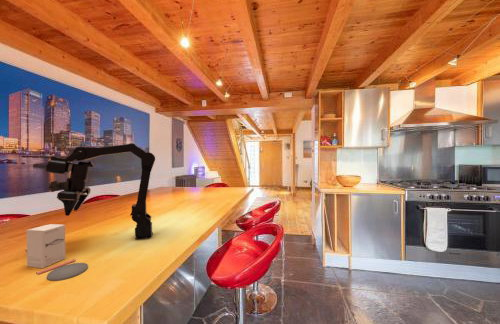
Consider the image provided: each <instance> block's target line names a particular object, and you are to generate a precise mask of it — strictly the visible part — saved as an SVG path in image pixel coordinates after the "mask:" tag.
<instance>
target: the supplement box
mask: <svg viewBox="0 0 500 324" xmlns="http://www.w3.org/2000/svg"><path fill="white" fill-rule="evenodd" d="M26 250H27V252H26V267H29V268H38V269H45V268H47V267H48V266H51V265H53V264H56V263H57V262H60V261H62V260H65V259H66V225H65V224H58V223H57V224H56V223H53V224H52V223H49V224H46V225H41V226H37V227H32V228H29V229H26Z"/></svg>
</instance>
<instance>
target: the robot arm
mask: <svg viewBox="0 0 500 324" xmlns="http://www.w3.org/2000/svg"><path fill="white" fill-rule="evenodd" d="M124 153H132V154H134V155H135V156H136V157H138V158H140V159H141V162H140V165H141V175H140V182H139V188H138V194H137V200H136V202H135V203H132V205H131V212H130V215H129V216H131V219H132V222H134V223H136V225H135V226H136V227H134V237H135V238H134V239H135V240H144V239H151V238H152V236H153V234H154V232H153V221H152V216H151V215H150V214H149V213H148V212H147V196H148V191H149V183H150V179H151V173H152V170H153V167H154V165H155V163H156V156H155V154H153V153H152V152H146V151H145V150H144V149H142V148H140V147H138V145H136V144H135V143H132V142H130V143H125V144H117V145H108V146H106V145H105V146H100V147H98V146H76V147H75V148H74V149H73V151H72V153H71V154H69V155H68V156H67V157H66V158H63V157H59V156H51V157H50V159H49V161H48V162H47V164H46V165H45V171H46V173H48V174H56V175H67V174H68V173H69V174H70V175H69V177H67V178H66V181H58V180H55V181H54V180H53V181H50V183H49V184H48V187H47V188H48V189H50V191H51V193H53V192H57V191H59V192H58V193H57V195H56V199H57V200H58V201H60V202H61V203H63V207H64V215H65V216H66V217H67V216H68V217H69V216H70V214H71V213H72V212H73V211H75V212H77V211H79V209H80V207H82V204H83V203H84V202H85V201H86V199H87V198H88V197H89V195H90V194H91V192H92V190H91V188H90V187H89V186H88V187H87V185H86V184H87V182H88V181H89V178H88V176H89V175H88V174H89V169H90V168H95V167H96V165H95V164H94V163H93V161H92V160H93V159H96V158H99V157H103V156H108V155H109V156H110V155H118V154H124ZM89 160H91V161H89ZM86 161H87V162H86ZM75 162H78V163H75Z"/></svg>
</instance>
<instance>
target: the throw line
mask: <svg viewBox="0 0 500 324" xmlns="http://www.w3.org/2000/svg"><path fill="white" fill-rule="evenodd" d="M76 262H77V259H74V258H73V259H71V260H67V261H64V262H62V263H59V264H56V265H53V266H51V267H46V268H43V269H42V270H39V271H36V274H37V275H42V274H44V273H45V274H46V273H47V272H48V273H49V272H51V271H53V270H54V269H57V268H59V267H62V266H65V265H68V264H73V263H76Z"/></svg>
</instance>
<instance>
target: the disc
mask: <svg viewBox="0 0 500 324" xmlns="http://www.w3.org/2000/svg"><path fill="white" fill-rule="evenodd" d="M88 269H89V265H88V263H85V262H72V263H70V264H67V265H64V266H61V267H59V268H56V269H53V270H50V271H49V272H48V273H47V275H46V279H47V280H48V281H52V282H57V281H63V280H69V279H72V278H74V277H78V276H79V275H81V274H83V273H84V272H86V271H87V270H88Z"/></svg>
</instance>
